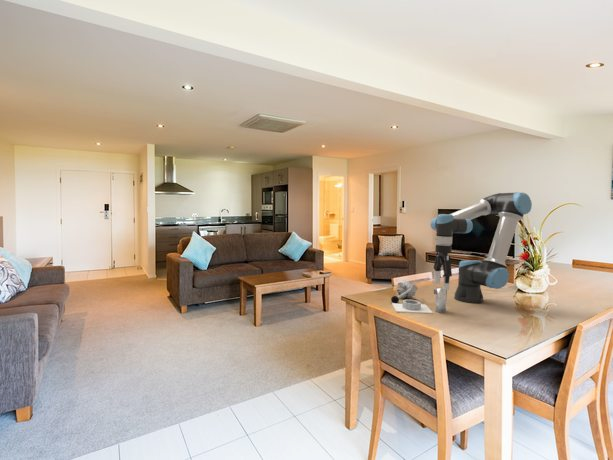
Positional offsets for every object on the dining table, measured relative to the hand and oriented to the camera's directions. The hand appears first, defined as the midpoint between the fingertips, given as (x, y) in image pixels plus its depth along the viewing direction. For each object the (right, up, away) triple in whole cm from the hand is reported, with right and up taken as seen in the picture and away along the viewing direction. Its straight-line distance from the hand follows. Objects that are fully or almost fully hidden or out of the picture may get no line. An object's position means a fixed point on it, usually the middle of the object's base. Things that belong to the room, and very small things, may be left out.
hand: (441, 286), depth 165 cm
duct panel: (-14, -13, +5) cm, 19 cm away
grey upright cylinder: (0, -13, +1) cm, 13 cm away
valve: (-14, -12, +22) cm, 29 cm away
